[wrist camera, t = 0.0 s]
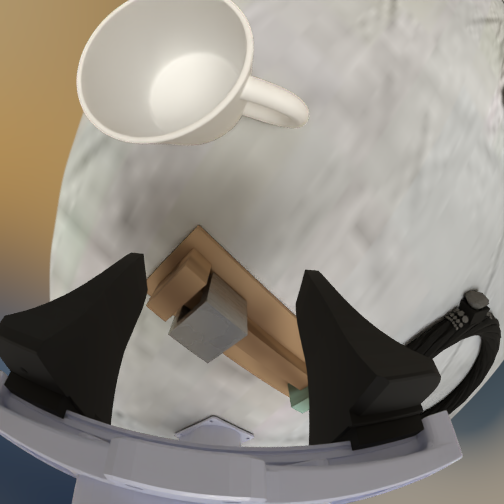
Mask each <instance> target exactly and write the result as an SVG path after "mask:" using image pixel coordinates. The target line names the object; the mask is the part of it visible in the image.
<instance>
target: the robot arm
mask: <svg viewBox="0 0 504 504" xmlns="http://www.w3.org/2000/svg"><path fill="white" fill-rule="evenodd" d="M147 292H148V287H147V280H146V272H145V264H144V255H143V254H139V253H130V254H128V255H127V256H125V257H123V258H122V259H121V260H119V261H118V262H116V263H115V264H113V265H112V266H111V267H109V268H108V269H106V270H105V271H103V272H102V273H101V274H99V275H97V276H96V277H94V278H93V279H91V280H90V281H88V282H87V283H85V284H84V285H82V286H80V287H79V288H77V289H75V290H73V291H71V292H70V293H68V294H66V295H64V296H62V297H59V298H57V299H55V300H53V301H51V302H48V303H46V304H43V305H41V306H38V307H36V308H32V309H29V310H26V311H23V312H18V313H14V314H11V315H6V316H4V318H3V319H2V321H1V322H0V357H1V359H2V360H3V361H4V363H5V364H6V366H7V367H8V368H9V369H10V371H11V372H10V374H9V376H7V375H6V374H5V373H4V372H2V371H1V370H0V434H1V435H2V436H4V437H5V438H6V439H8V440H9V441H11V442H12V443H14V444H15V445H17V446H19V447H20V448H21V449H23V450H25V451H26V452H28V453H29V454H31V455H33V456H35V457H36V458H38V459H40V460H41V461H43V462H45V463H47V464H49V465H51V466H53V467H55V468H57V469H58V470H61V471H62V472H65V473H67V474H69V475H71V476H73V477H75V478H77V481H76V485H75V490H74V496H73V500H72V504H346V503H350V502H354V501H359V500H362V499H366V498H370V497H373V496H376V495H380V494H383V493H386V492H389V491H392V490H395V489H398V488H400V487H403V486H406V485H408V484H411V483H413V482H416V481H418V480H421V479H423V478H425V477H428V476H430V475H431V474H434V473H436V472H438V471H440V470H441V469H443V468H445V467H447V466H449V465H450V464H452V463H454V462H456V461H457V460H459V459H461V458H462V456H463V455H462V452H461V449H460V446H459V443H458V440H457V437H456V434H455V431H454V428H453V426H452V423H451V420H450V417H449V415H448V412H447V411H442V412H439V413H436V414H433V415H430V416H427V417H425V418H423V419H422V420H421V417H420V413H422V412H423V408H422V406H421V403H422V402H423V401H424V400H425V399H426V398H427V397H428V396H429V395H430V394H431V393H432V392H433V391H434V390H435V389H436V388H437V386H438V384H439V383H440V380H441V376H440V374H439V372H438V369H437V367H436V365H435V363H434V361H433V359H431V358H428V357H426V356H424V355H422V354H419V353H417V352H415V351H413V350H411V349H409V348H407V347H406V346H404V345H402V344H400V343H399V342H397V341H395V340H394V339H392V338H391V337H389V336H388V335H386V334H385V333H383V332H382V331H380V330H379V329H378V328H376V327H375V326H374V325H372V324H371V323H370V322H369V321H368V320H366V319H365V318H364V317H363V316H362V315H360V314H359V313H358V312H357V311H356V310H355V309H354V308H353V307H352V306H351V305H350V304H349V303H348V302H347V301H346V300H345V299H344V298H343V297H342V296H341V295H340V294H339V293H338V292H337V290H336V289H335V288H334V287H333V286H332V285H331V284H330V283H329V282H328V281H327V279H326V278H325V277H324V276H323V275H322V274H321V273H320V272H319V271H315V270H305V272H304V276H303V280H302V284H301V287H300V291H299V294H298V298H297V301H296V317H297V325H298V330H299V335H300V340H301V344H302V349H303V354H304V358H305V363H306V369H307V379H308V392H309V446H293V447H241V443H243V442H245V441H247V440H250V439H252V438H254V435H253V434H250V433H248V432H246V431H244V430H242V429H240V428H237V427H235V426H233V425H231V424H229V423H227V422H225V421H223V420H221V419H219V418H217V417H215V416H213V417H210V418H208V419H206V420H204V421H202V422H200V423H197V424H195V425H193V426H191V427H189V428H186V429H184V430H182V431H179V432H177V433H175V437H177V438H179V440H174V439H168V438H163V437H157V436H153V435H148V434H143V433H139V432H135V431H131V430H127V429H123V428H120V427H116V426H113V425H111V417H112V408H113V401H114V394H115V388H116V383H117V379H118V374H119V370H120V366H121V362H122V358H123V354H124V351H125V349H126V346H127V343H128V341H129V339H130V336H131V334H132V332H133V329H134V327H135V325H136V322H137V320H138V318H139V315H140V313H141V311H142V308H143V305H144V302H145V299H146V295H147Z"/></svg>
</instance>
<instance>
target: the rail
mask: <svg viewBox="0 0 504 504" xmlns="http://www.w3.org/2000/svg"><path fill="white" fill-rule="evenodd" d="M213 272H214V273H215V274H216V275H217V276H218V277H219V278H220V279H222V280H223V281H224V282H225V283H226V284H227V285H228V286H229V287H231V288H232V289H233V290H234V291H235V292H236V293H237V294H238V295H240V296H241V297H242V298H243V299H244V300H245V301H246V302H247V331H248V335H247V336H245V337H244V338H243V339H241V340H240V341H239V342H237V343H236V344H234V345H233V346H232V347H230V348H229V349H227V350H226V351H225V352H223V354H224V355H226V356H227V357H229V358H230V359H231V360H233V361H234V362H236V363H237V364H239V365H240V366H242V367H243V368H244V369H246V370H247V371H249V372H250V373H252V374H253V375H255V376H256V377H258V378H259V379H261V380H262V381H264V382H266V383H267V384H269V385H270V386H272V387H273V388H275V389H277V390H278V391H280V392H281V393H283V394H285V395H286V396H288V397H290V402H291V407H292V408H293V409H295V410H297V411H299V412H301V413H304V412H306V411H308V410H309V392H308V379H307V369H306V363H305V358H304V354H303V349H302V344H301V340H300V335H299V330H298V325H297V317H296V316H295V315H294V314H293V313H292V312H291V311H290V310H289V309H288V308H287V307H285V306H284V305H283V304H282V303H281V302H280V301H279V300H278V299H277V298H276V297H275V296H274V295H273V294H271V293H270V292H269V291H268V290H267V289H266V288H265V287H264V286H263V285H262V284H261V283H260V282H259V281H257V280H256V279H255V278H254V277H253V276H252V275H251V274H250V273H249V272H248V271H247V270H246V269H245V268H244V267H243V266H242V265H240V264H239V263H238V262H237V261H236V260H235V259H234V258H233V257H232V256H231V255H230V254H229V253H228V252H227V251H226V250H225V249H224V248H222V247H221V246H220V245H219V244H218V243H217V242H216V241H215V240H214V239H213V238H212V237H211V236H210V235H209V234H208V233H207V232H206V231H205V230H204V229H203V228H202V227H201V226H199V225H198V226H197V227H196V228H195V229H194V230H193V231H192V232H191V233H190V234H189V235H188V236H187V237H186V238H185V239H184V240H183V242H182V243H181V244H180V245H179V246H178V247H177V248H176V249H175V250H174V251H173V252H172V253H171V254H170V255H169V256H168V257H167V258H166V259H165V260H164V261H163V262H162V264H161V265H160V266H159V267H158V268H157V269H156V270H155V271H154V272H153V273H152V274H151V275H150V277H149V278H148V279H147V287H148V292H147V294H149V295H150V296H151V298H150V299H149V301H148V303H147V305H146V306H147V307H148V308H149V309H150V310H152V311H153V312H154V313H155V314H156V315H158V316H159V317H160V318H161V319H162V320H164V321H167V320H168V319H169V318H170V317H171V316H172V315H174V316H175V315H176V312H177V311H178V310H179V309H180V308H181V307H182V306H183V305H185V306H186V307H188V308H189V309H190V310H192V309H193V308H194V307H195V306H196V305H197V304H199V303H200V302H201V298H202V294H203V290H204V286H205V285H206V284H207V280H208V277H209V275H211V274H212V273H213Z"/></svg>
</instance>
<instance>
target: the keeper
mask: <svg viewBox="0 0 504 504" xmlns="http://www.w3.org/2000/svg"><path fill="white" fill-rule="evenodd" d="M168 335H170V336H171V337H172V338H174V339H175V340H176V341H178V342H179V343H180V344H182V345H183V346H184V347H186V348H187V349H188V350H190V351H191V352H193V353H194V354H195V355H197V356H198V357H199V358H201V359H202V360H204V361H205V362H207V363H209V362H210V361H212V360H213V359H215V358H216V357H217V356H219V355H220V354H222V353H223V352H225V351H226V350H227V349H229V348H230V347H232V346H233V345H234V344H236V343H237V342H239V341H240V340H241V339H243V338H244V337H245V336H247V335H248V331H247V302H246V301H245V300H244V299H243V298H242V297H241V296H240V295H238V294H237V293H236V292H235V291H234V290H233V289H232V288H231V287H229V286H228V285H227V284H226V283H225V282H224V281H223V280H222V279H220V278H219V277H218V276H217V275H216V274H215V273H214V272H213V273H212V274H211V275H209V277H208V280H207V284H206V285H205V286H204V290H203V294H202V298H201V302H200V303H199V304H197V305H196V306H195V307H194V308H193V309H192V310H190V309H189V308H188V307H186V306H185V305H183V306H182V307H181V308H180V309H179V310H178V311H177V312H176V315H175V317H174V320H173V323H172V326H171V328H170V331H169V334H168Z"/></svg>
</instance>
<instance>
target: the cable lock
mask: <svg viewBox="0 0 504 504" xmlns="http://www.w3.org/2000/svg"><path fill="white" fill-rule="evenodd" d="M488 304H489V300H488V299H487V298H486V296H485V295H484V294H483V293H480V292H476V291H469V292H467V293H466V299H463V300H461V302H460V306H459V309H454V310H453V313H451V312H450V313H449V314H448V316H445V320H444V321H442V322H440V323H438V324H437V325H436V326H434V327H433V328H432V329H430V330H429V331H428V332H426V333H424V334H423V335H421V336H420V337H418V338H417V339H415V340H414V341H412V342H411V343H410V344H408V345H407V346H406V347H407V348H409V349H411V350H413V351H415V352H417V353H419V354H422V355H424V356H426V357H428V358H431V359H433V358H434V357H435V356H437V355H438V354H439V353H440V352H442V351H443V350H445V349H446V348H448V347H450V346H452V345H453V344H455V343H457V342H459V341H460V340H462V339H465V338H468V337H470V336H474V335H480V336H481V337H482V339H483V343H482V348H481V353H480V355H479V357H478V359H477V361H476V363H475V365H474V367H473V369H472V370H471V371H470V373H469V374H468V375H467V377H466V378H465V379H464V381H463V382H462V383H461V385H460V386H458V387H457V388H456V389H455V390H454V391H453V392H452V393H451V394H450V395H449V396H448V397H447V398H446V399H445V400H443V401H442V402H440V403H439V404H437V405H436V406H434V407H432V408H431V409H429V410H428V411H426V412H425V413H422V414H420V417H421V420H422V419H423V418H425V417H427V416H430V415H433V414H436V413H439V412H442V411H447V412H448V415H449V414H451V413H452V412H453V411H454V410H455V409H456V408H457V407H459V406H460V405H461V404H462V403H463V402H465V401H466V399H467V398H468V397H469V396H470V395H471V394H472V392H473V391H474V390H475V389H476V388H477V387H478V386H479V385H480V384H481V382H482V381H483V379H484V378H485V376H486V375H487V373H488V371H489V370H490V368H491V366H492V364H493V363H494V360H495V357H496V355H497V352H498V350H499V345H500V338H501V330H500V328H499V326H500V325H499V322H498V320H497V319H496V318H494V316H493V314H492V313H491V312H488V311H489V310H490V308H489V307H488V306H486V305H488Z"/></svg>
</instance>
